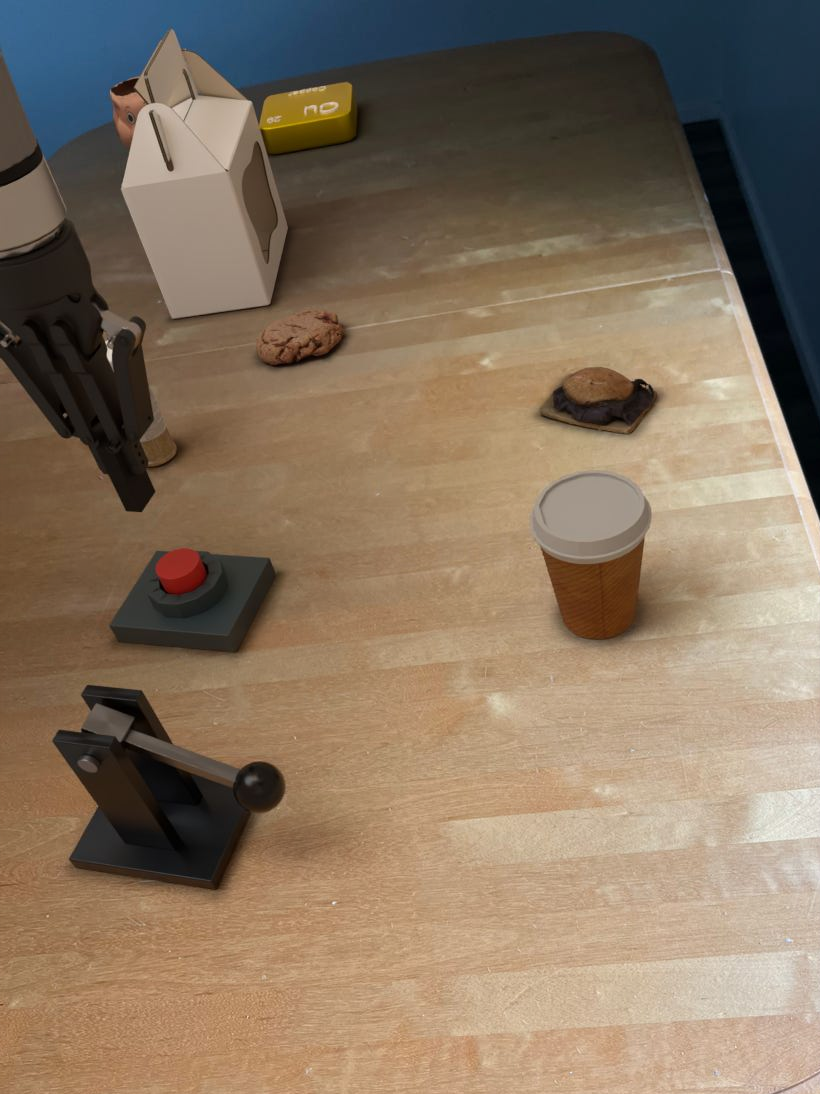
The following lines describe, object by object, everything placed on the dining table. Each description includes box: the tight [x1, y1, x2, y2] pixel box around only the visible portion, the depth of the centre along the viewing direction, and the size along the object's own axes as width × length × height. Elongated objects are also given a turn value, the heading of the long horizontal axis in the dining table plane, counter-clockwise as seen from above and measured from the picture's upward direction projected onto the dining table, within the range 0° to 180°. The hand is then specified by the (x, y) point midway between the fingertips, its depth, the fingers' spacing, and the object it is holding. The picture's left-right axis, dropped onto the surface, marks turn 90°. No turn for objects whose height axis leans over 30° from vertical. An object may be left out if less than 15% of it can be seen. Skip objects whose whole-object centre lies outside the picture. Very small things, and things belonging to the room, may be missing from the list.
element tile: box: [258, 81, 358, 156], centre depth 173 cm, size 15×15×5 cm
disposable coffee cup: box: [528, 469, 653, 640], centre depth 86 cm, size 10×10×12 cm
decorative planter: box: [109, 75, 147, 151], centre depth 167 cm, size 20×12×14 cm, turn 12°
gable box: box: [120, 28, 289, 320], centre depth 134 cm, size 22×13×28 cm, turn 1°
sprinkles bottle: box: [105, 339, 178, 468], centre depth 111 cm, size 5×5×14 cm
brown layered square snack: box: [538, 366, 658, 435], centre depth 109 cm, size 11×8×4 cm
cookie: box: [256, 308, 344, 366], centre depth 127 cm, size 10×11×3 cm
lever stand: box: [51, 684, 252, 890], centre depth 76 cm, size 12×9×14 cm
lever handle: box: [80, 703, 287, 814], centre depth 73 cm, size 14×4×4 cm, turn 76°
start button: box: [156, 547, 207, 595], centre depth 95 cm, size 4×4×2 cm
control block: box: [108, 550, 277, 653], centre depth 97 cm, size 12×10×4 cm
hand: (140, 501), depth 89 cm, fingers closed
